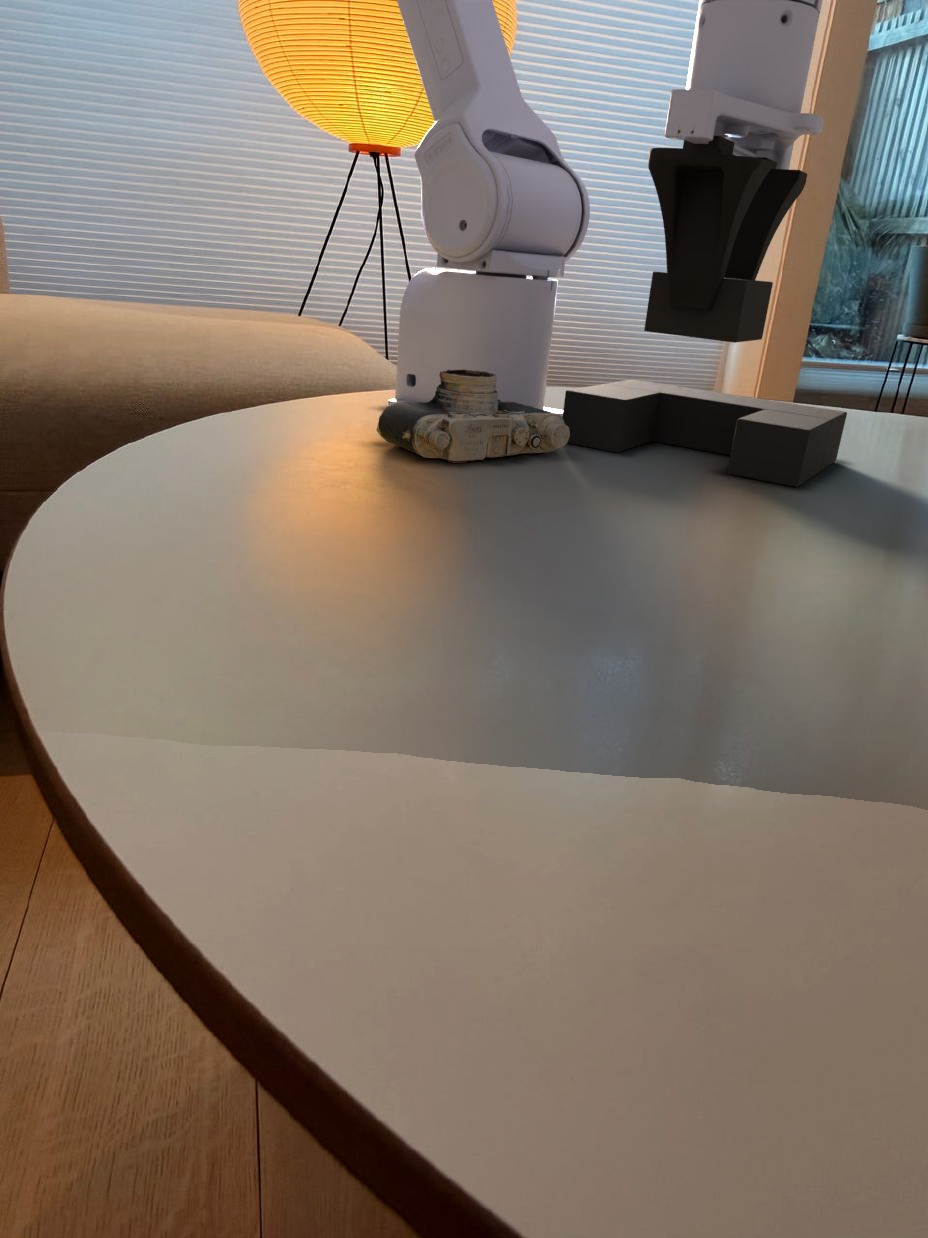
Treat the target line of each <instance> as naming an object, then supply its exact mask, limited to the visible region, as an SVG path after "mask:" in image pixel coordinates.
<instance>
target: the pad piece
mask: <svg viewBox="0 0 928 1238" xmlns="http://www.w3.org/2000/svg"><path fill="white" fill-rule="evenodd" d="M773 285H774V283H773V281H767V280H756V279H755V280H746V279H736V278H725V277H724V279H723V282H722V285H721V288H720V291H719V293H718V296H717V298H716V301H715V303H714V305H713V307H712V309H711V311H706V310H697V309H688V308H679V307H670V303H669V295H668V282H667V271H652V276H651V282H650V289H649V294H648V301H647V302H648V303H647V309H646V317H645V323H644V329H643V330H644V332H647V333H656V334H664V335H671V336H672V335H673V336H679V337H687V338H688V337H689V338H695V339H703V340H711V341H719V342H727V343H743V342H751V341H752V342H753V341H761V340H763V336H764V331H765V326H766V321H767V316H768V310H769V305H770V301H771V296H772V295H771V294H772V290H773Z"/></svg>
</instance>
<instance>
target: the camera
mask: <svg viewBox="0 0 928 1238" xmlns="http://www.w3.org/2000/svg"><path fill="white" fill-rule="evenodd" d="M439 376H440V379H441V384H440V385H438V387H437V391H436V392H435V396H434V397H433V399H432V400H430V401H429V402H418V403H416V402H406V401H405V402H397V403H393V404H392V405H390V406H388V405H387V406H386V407H385V409H384V410H383V411H382V412H381V414H380V415H379V418H378V422H377V426H376V429H375V430H376V432H377V433H378V435H379V436H380V438H382V439H383V440H385V441H386V442H388V443H389V444H393V445H396V446H397V447H401V448H402V449H405V450H408V451H409V452H412V453H414V454H416V455H417V456H421V457H422V458H426V459H442V460H444V461H446V462H448V463H452V464H462V463H468V461H477V460H479V461H480V460H481V461H483V460H484V459H485V458H500V457H501V458H503V457H506V456H516V455H519V454H521V455H523V454H540V453H541V454H543V453H551V452H554V451H555V450H557V449H560V448H563V447H565V446H566V445H567V444H568V443H567V442H568V440H569V436H570V430H569V427H568V426H567V425H565V423H564V420H563V417H562V416H560V415H559V414H557V413H552V412H548V411H545V410H542V409H538V408H534V407H532V406H527V405H523V404H519V403H516V402H512V401H504V402H502V401H501V400H498V396H497V395H498V392H497V391H496V390H495V389H496V387H495V386H496V382H497V376H496V374H490V373H488V372H485V371H479V370H477V371H473V370H466V369H464V370H447V371H446V372H445V371H440V375H439Z"/></svg>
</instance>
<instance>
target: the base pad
mask: <svg viewBox="0 0 928 1238" xmlns="http://www.w3.org/2000/svg"><path fill="white" fill-rule="evenodd" d="M562 410H563V420H564V423H565V425H567V426H568V427H569V430H570V436H569V440H568V442H567V444H572V445H577V446H581V447H586V448H587V447H588V448H592V449H597V450H602V451H608V452H613V453H621V452H624V451H627V450H630V449H633V448H636V447H639V446H642V445H645V444H648V443H651V442H656V443H661V444H667V445H672V446H677V447H682V448H688V449H694V450H699V451H704V452H709V453H710V452H711V453H716V454H721V455H727V456H730V457H729V463H728V467H727V474H728V475H731V476H737V477H743V478H747V479H752V480H758V481H762V482H769V483H774V484H779V485H784V486H787V487H788V486H789V487H794V488H799V486H801V485H803V484H804V483H806V482H807V481H809V480H810V479H812V478H813V477H814V476H816V475H817V474H819V473H820V472H821V471H823V470H824V469H826V468H827V467H829V466H830V465H832V464H833V463H835V462H837V458H838V454H839V450H840V446H841V442H842V437H843V433H844V428H845V424H846V420H847V415H848V412H847V411H842V410H837V409H829V408H823V407H817V406H810V405H804V404H796V403H790V402H784V401H777V400H772V399H765V398H758V397H751V396H744V395H738V394H731V393H726V392H725V393H724V392H718V391H712V390H706V389H698V388H691V387H685V386H679V385H672V384H667V383H666V384H665V383H659V382H653V381H645V380H639V379H633V378H630V379H623V380H619V381H618V380H617V381H613V382H607V383H601V384H594V385H588V386H583V387H579V388H578V387H577V388H572V389H566V390H565V394H564V402H563V409H562Z"/></svg>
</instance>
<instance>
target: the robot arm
mask: <svg viewBox="0 0 928 1238" xmlns="http://www.w3.org/2000/svg"><path fill="white" fill-rule="evenodd" d="M396 3H397V5H398V9H399V12H400V15H401V18H402V19H401V20H402V22H403V24H404V28H405V31H406V34H407V38H408V41H409V44H410V47H411V52H412V54H413V57H414V60H415V63H416V67H417V69H418V73H419V76H420V79H421V83H422V85H423V90H424V92H425V96H426V99H427V102H428V105H429V108H430V109H429V110H430V112H431V115H432V118H433V122H434V123H433V124H432V126H431V127H429V129H428V130H427V132H426V133H425V135H424V136H423V138H422V140H421V141H420V142H419V144H418V146H417V148H416V150H415V152H414V155H413V156H414V159H415V160H414V161H415V164H416V166H417V170H418V173H419V178H420V188H421V195H420V196H421V197H420V215H421V223H422V228H423V231H424V233H425V237H426V238H427V240H428V242H429V244H430V246H431V247H432V249H433V251H435V252H436V254H437V255H436V268H435V267H432V268H431V267H430V268H424V269H422V270H420V271H418V272H417V273H416V274H413V276H412V277H411V278H410V280H409V282H408V283H407V285H406V288H405V291H404V293H403V297H402V299H401V304H400V309H399V321H398V322H399V323H398V338H397V339H398V341H397V342H398V343H397V344H398V345H397V357H396V358H397V359H396V377H395V378H396V379H395V392H394V393H395V394H394V398H391V399H388V400H387V407H388V406H390V405H392V404H393V403H397V402H405V401H406V402H416V403H418V402H429V401H430V400H432V399H433V397H434V396H435V392H436V391H437V387H438V385H440V384H441V379H440V376H439V375H440V371H445V372H446V371H447V370H464V369H466V370H473V371H477V370H479V371H485V372H488V373H490V374H496V376H497V382H496V386H495V387H496V389H495V390H496V391H497V392H498V395H497V396H498V400H501V401H502V402H504V401H512V402H516V403H519V404H523V405H527V406H532V407H534V408H538V409H542V410H545V411H548V412H552V413H557V414H559V415H560V416H562V417H563V410H564V409H558V408H551V407H545V400H546V392H547V383H548V373H549V364H550V356H551V349H552V339H553V330H554V322H555V314H556V303H557V295H558V285H559V280H558V279H554V278H563V277H564V274H565V268H566V263H567V262H568V261H569V260H570V259H571V258H572V257H573V256H574V255H575V254H576V253H577V251H579V249H580V247H581V245H582V244H583V241H584V239H585V238H586V235H587V232H588V228H589V225H590V215H591V204H590V198H589V194H588V190H587V186H586V185H585V183H584V181H583V179H582V178H581V176H580V175H579V174H578V172H576V171H575V170H574V169H573V168H572V167H571V166H570V165H569V164H568V163H567V162H566V160H565V158H564V156H563V154H562V152H561V149H560V146H559V142H558V140H557V136H556V135H555V134H554V133H553V131H552V130H551V129H550V127H548V126H547V124H546V123H545V122H544V121H543V120H542V119H541V117H540V116H538V114H537V113H536V112H535V110H533V108H531V107H530V105H529V104H528V102H527V101H526V100H525V99H524V97H523V95H522V93H521V89H520V86H519V83H518V79H517V76H516V73H515V69H514V66H513V63H512V60H511V57H510V53H509V50H508V47H507V44H506V41H505V40H506V39H505V37H504V34H503V32H502V28H501V23H500V21H499V17H498V15H497V12H496V7H495V4H494V1H493V0H396ZM822 5H823V0H699V2H698V8H697V9H698V10H697V15H696V21H695V27H694V28H695V29H694V34H693V39H692V40H693V41H692V46H691V47H692V48H691V53H690V61H689V67H688V74H687V81H686V87H685V88H684V89H683V88H681V89H680V88H676V89H671V90H670V97H669V103H668V109H667V116H666V117H667V118H666V122H665V123H666V124H665V130H664V138H666V139H668V140H671V141H678V142H679V141H682V142H683V145H682V147H652V148H650V149H649V155H648V160H647V164H648V165H647V167H648V170H649V173H650V175H651V179H652V181H653V184H654V187H655V191H656V195H657V198H658V202H659V208H660V212H661V213H660V214H661V217H662V223H663V231H664V242H665V243H664V244H665V256H666V258H665V260H666V272H667V282H668V295H669V303H670V307H679V308H688V309H697V310H706V311H711V309H712V307H713V305H714V303H715V301H716V298H717V296H718V293H719V291H720V288H721V285H722V282H723V279H724V277H725V278H736V279H746V280H756V279H757V277H758V274H759V272H760V269H761V267H762V264H763V262H764V259H765V257H766V254H767V252H768V250H769V247H770V245H771V243H772V241H773V238H774V236H775V235H776V232H777V231H778V229H779V227H780V226H781V223H782V222H783V219H784V218H785V217H786V215H787V214H788V212H789V210H790V209H791V207H792V206H793V205H794V203H795V202H796V200H797V199H798V198H799V197H800V196H801V194H802V192H803V190H804V188H805V186H806V183H807V178H808V173H807V172H805V171H803V170H800V169H790V165H791V159H792V155H793V149H794V144H795V142H796V141H797V140H798V139H799V138H800V137H801V136H806V135H809V136H811V135H812V136H814V135H817V136H818V135H821V134H822V133H823V129H824V123H825V118H823V117H822V116H821V115H819V114H818V113H812V112H811V113H810V112H802V108H803V102H804V97H805V92H806V88H807V81H808V77H809V71H810V67H811V61H812V56H813V51H814V45H815V40H816V36H817V30H818V26H819V19H820V14H821V11H822ZM437 267H438V268H437ZM445 268H448V269H445ZM449 268H450V269H449ZM457 269H458V270H457Z"/></svg>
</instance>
